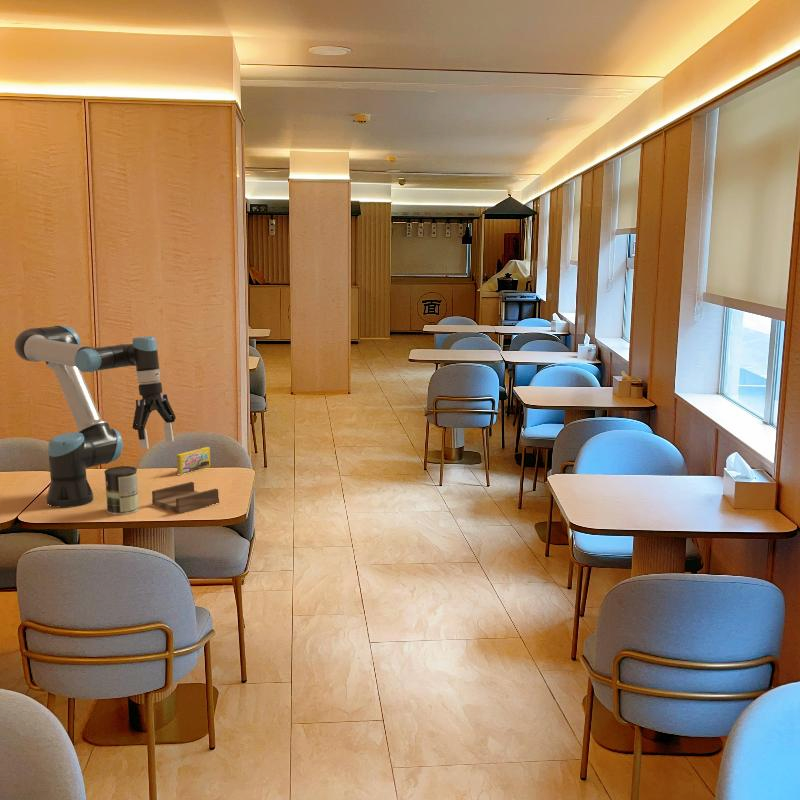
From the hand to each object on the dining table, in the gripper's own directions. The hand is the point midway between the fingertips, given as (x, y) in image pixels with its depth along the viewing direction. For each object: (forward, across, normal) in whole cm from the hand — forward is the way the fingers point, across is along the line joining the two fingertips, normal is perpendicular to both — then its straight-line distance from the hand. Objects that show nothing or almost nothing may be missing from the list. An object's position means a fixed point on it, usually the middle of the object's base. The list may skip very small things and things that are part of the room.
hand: (157, 445), depth 304 cm
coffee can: (+21, -9, +11) cm, 25 cm away
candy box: (+19, +45, +20) cm, 53 cm away
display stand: (+22, +5, -5) cm, 23 cm away
